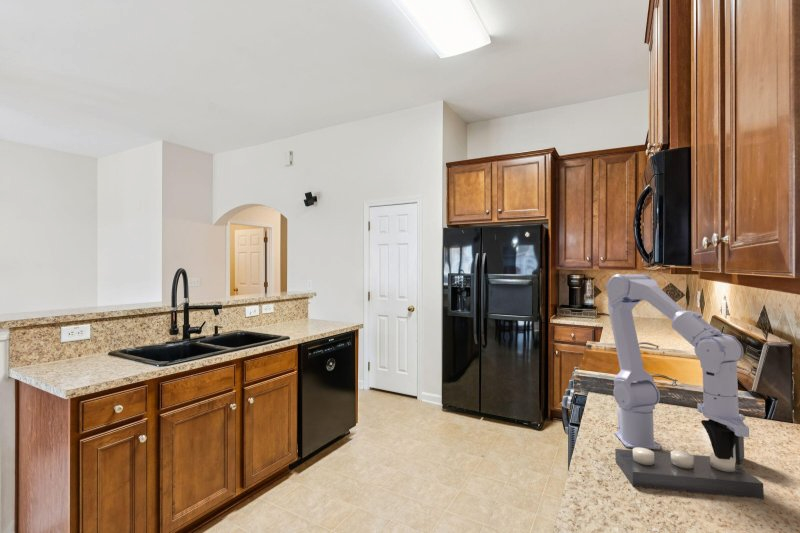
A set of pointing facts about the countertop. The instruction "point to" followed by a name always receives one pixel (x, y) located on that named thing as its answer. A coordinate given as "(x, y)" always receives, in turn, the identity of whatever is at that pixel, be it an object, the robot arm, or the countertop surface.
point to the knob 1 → (643, 456)
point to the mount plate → (688, 476)
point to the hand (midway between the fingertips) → (722, 458)
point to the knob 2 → (722, 463)
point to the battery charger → (738, 449)
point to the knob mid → (682, 459)
